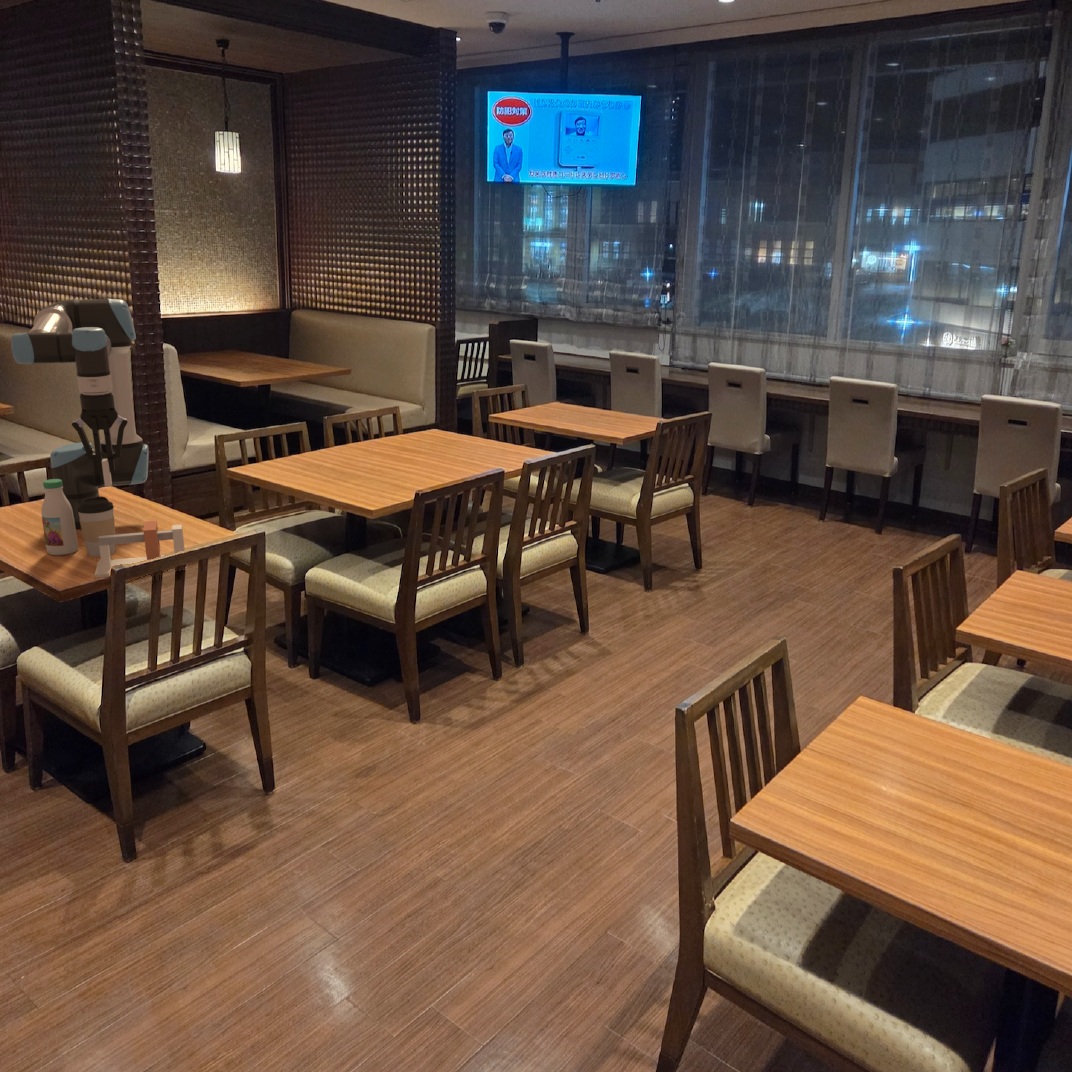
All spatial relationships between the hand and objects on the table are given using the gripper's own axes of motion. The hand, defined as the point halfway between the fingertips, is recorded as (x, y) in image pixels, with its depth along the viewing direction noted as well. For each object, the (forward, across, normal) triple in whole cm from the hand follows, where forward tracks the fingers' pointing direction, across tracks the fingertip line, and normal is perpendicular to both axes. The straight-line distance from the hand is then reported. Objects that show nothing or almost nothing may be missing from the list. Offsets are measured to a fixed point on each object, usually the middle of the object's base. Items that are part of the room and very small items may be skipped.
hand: (108, 484), depth 242 cm
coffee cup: (+23, -5, +14) cm, 28 cm away
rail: (+23, +6, -1) cm, 23 cm away
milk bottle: (+23, -15, +18) cm, 33 cm away
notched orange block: (+16, +9, -1) cm, 18 cm away
